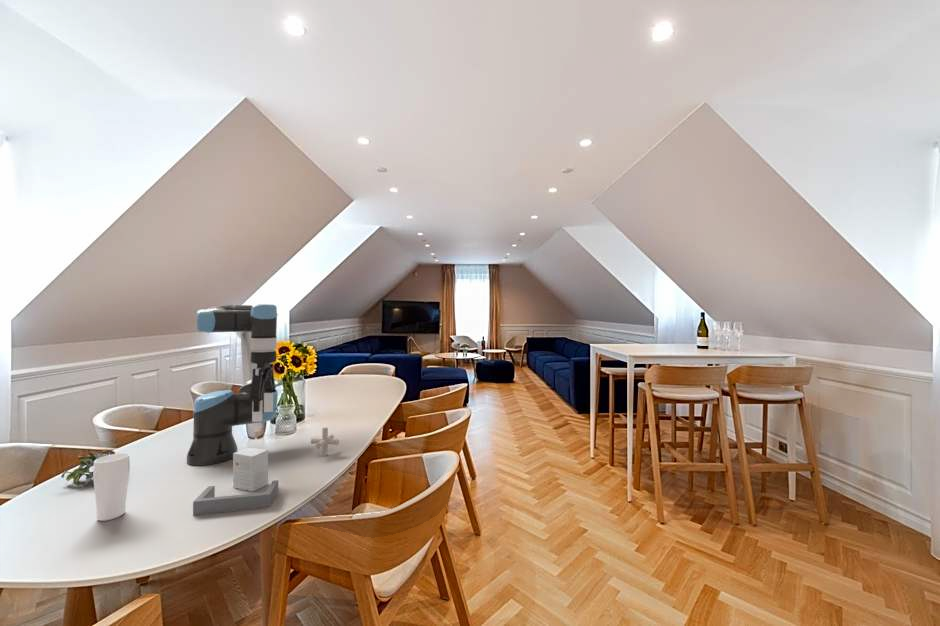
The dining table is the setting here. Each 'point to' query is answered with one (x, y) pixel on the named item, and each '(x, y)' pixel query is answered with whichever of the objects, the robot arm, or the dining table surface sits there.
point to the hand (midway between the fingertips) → (263, 416)
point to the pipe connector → (325, 441)
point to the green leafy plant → (89, 463)
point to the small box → (250, 469)
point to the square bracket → (233, 501)
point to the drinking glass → (111, 485)
